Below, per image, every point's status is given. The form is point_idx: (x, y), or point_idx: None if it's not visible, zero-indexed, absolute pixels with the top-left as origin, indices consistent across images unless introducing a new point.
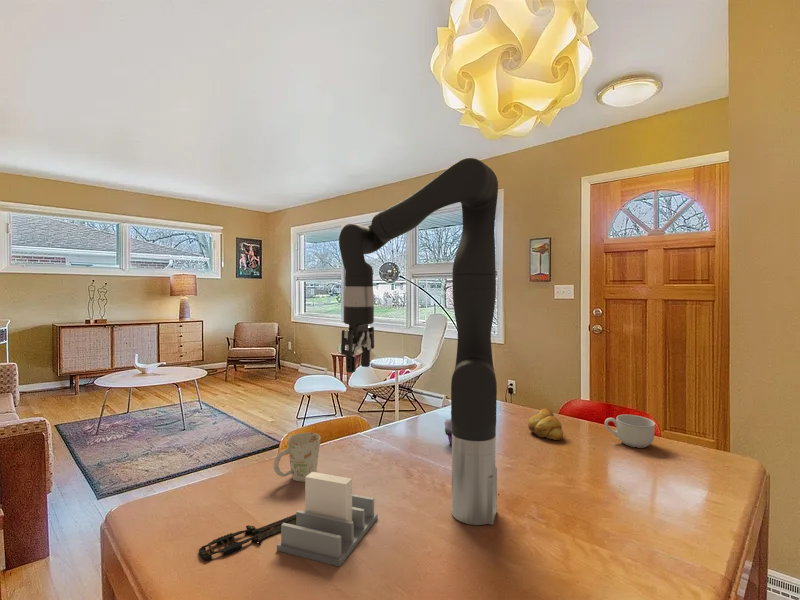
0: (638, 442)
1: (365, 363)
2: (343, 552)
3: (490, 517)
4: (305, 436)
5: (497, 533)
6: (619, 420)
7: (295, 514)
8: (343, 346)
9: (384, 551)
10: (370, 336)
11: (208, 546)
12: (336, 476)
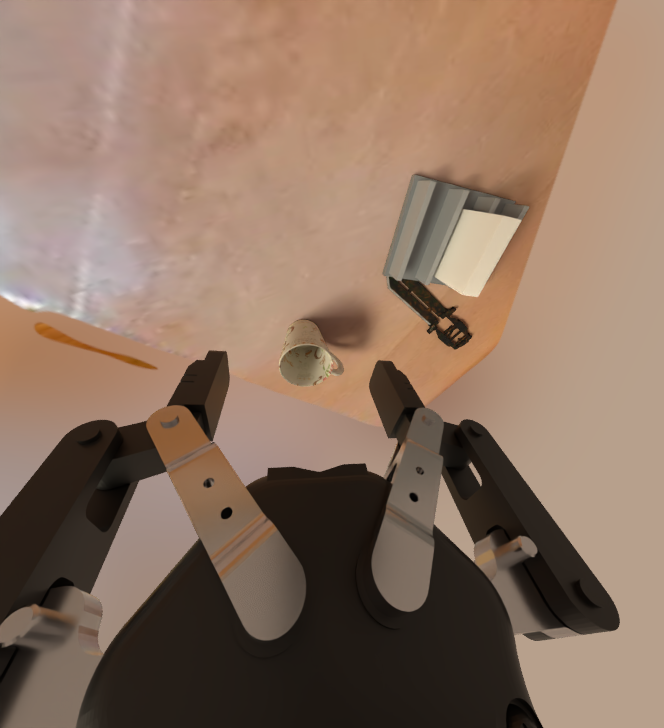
0: None
1: (224, 374)
2: (500, 202)
3: None
4: (283, 371)
5: None
6: None
7: (404, 299)
8: (477, 490)
9: (496, 138)
10: (57, 559)
11: (456, 344)
12: (487, 248)
